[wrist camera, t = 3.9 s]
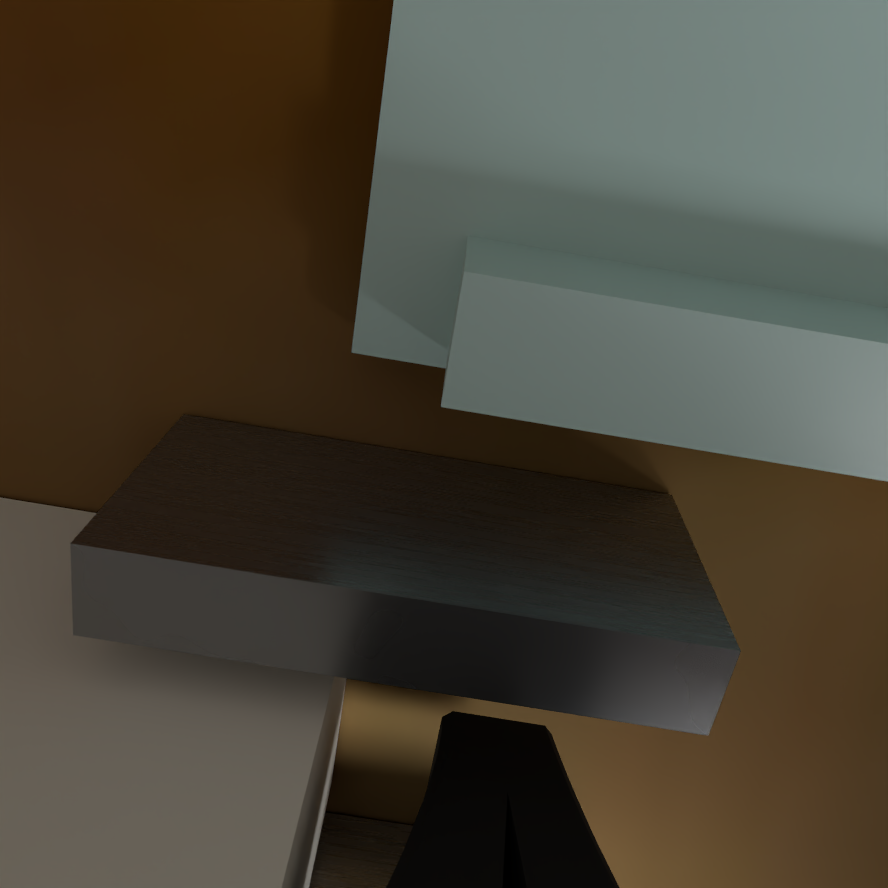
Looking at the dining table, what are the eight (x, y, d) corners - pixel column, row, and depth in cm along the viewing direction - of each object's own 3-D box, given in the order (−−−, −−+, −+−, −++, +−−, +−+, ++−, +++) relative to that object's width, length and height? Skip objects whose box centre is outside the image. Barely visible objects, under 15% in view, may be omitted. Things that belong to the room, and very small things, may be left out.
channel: (672, 494, 10) (739, 651, 7) (547, 892, 13) (564, 1109, 10) (183, 414, 10) (70, 542, 7) (169, 834, 13) (85, 1039, 10)
